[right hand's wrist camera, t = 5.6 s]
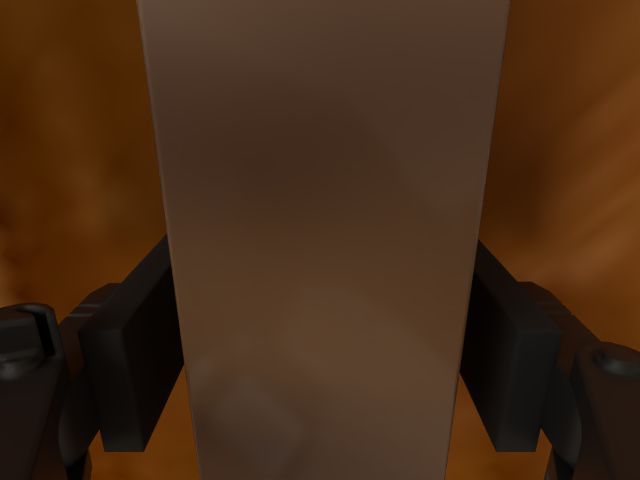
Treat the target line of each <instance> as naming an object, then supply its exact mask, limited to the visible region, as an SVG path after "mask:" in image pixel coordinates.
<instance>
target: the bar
mask: <svg viewBox="0 0 640 480" xmlns="http://www.w3.org/2000/svg"><path fill="white" fill-rule="evenodd" d="M136 4H137V11H138V19H139V26H140V34H141V41H142V49H143V56H144V64H145V71H146V79H147V86H148V94H149V101H150V109H151V116H152V124H153V131H154V139H155V146H156V154H157V161H158V169H159V176H160V184H161V191H162V199H163V206H164V214H165V221H166V229H167V236H168V244H169V251H170V259H171V266H172V274H173V281H174V289H175V296H176V304H177V311H178V319H179V326H180V334H181V341H182V349H183V356H184V364H185V371H186V379H187V386H188V394H189V401H190V409H191V416H192V424H193V431H194V439H195V446H196V454H197V461H198V469H199V476H200V480H445V473H446V466H447V459H448V452H449V444H450V437H451V430H452V423H453V416H454V408H455V401H456V394H457V387H458V379H459V372H460V365H461V358H462V351H463V343H464V336H465V329H466V322H467V315H468V307H469V300H470V293H471V286H472V278H473V271H474V264H475V257H476V250H477V242H478V235H479V228H480V221H481V213H482V206H483V199H484V192H485V185H486V177H487V170H488V163H489V156H490V148H491V141H492V134H493V127H494V120H495V112H496V105H497V98H498V91H499V83H500V76H501V69H502V62H503V55H504V47H505V40H506V33H507V26H508V19H509V11H510V4H511V0H136Z"/></svg>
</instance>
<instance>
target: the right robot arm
mask: <svg viewBox="0 0 640 480" xmlns="http://www.w3.org/2000/svg"><path fill="white" fill-rule="evenodd" d="M183 365H184V356H183V349H182V341H181V334H180V326H179V319H178V311H177V304H176V296H175V289H174V281H173V274H172V266H171V259H170V251H169V244H168V236H167V234H166V235H165V236H164V237H163V238H162V240H161V241H160V242H159V243H158V244H157V245H156V246H155V247H154V248H153V249H152V250H151V251H150V253H149V254H148V255H147V256H146V257H145V258H144V259H143V260H142V261H141V262H140V263H139V264H138V266H137V267H136V268H135V269H134V270H133V271H132V272H131V273H130V274H129V275H128V276H127V277H126V279H125V280H124V281H123V282H122V283H109V284H107V285H105V286H103V287H101V288H99V289H97V290H96V291H94V292H92V293H90V294H89V295H88V296H87V297H86V298H85V299H84V300H83V301H82V302H81V303H80V304H79V307H76V308H75V309H74V310H73V311H72V312H71V313H70V314H69V317H66V318H65V319H64V320H63V321H62V322H61V323H60V324H59V325H58V324H57V320H56V316H55V312H54V309H53V308H52V307H50V306H49V305H47V304H40V303H23V304H16V305H11V306H7V307H2V308H0V480H90V478H91V470H92V463H91V457H90V453H89V449H88V447H89V445H90V444H91V442H92V440H93V439H94V437H95V435H96V434H97V432H98V431H99V429H100V433H101V438H102V442H103V446H104V451H105V452H144V450H145V448H146V446H147V444H148V442H149V439H150V437H151V435H152V433H153V431H154V428H155V426H156V424H157V422H158V420H159V418H160V415H161V413H162V411H163V409H164V407H165V404H166V402H167V400H168V398H169V396H170V394H171V391H172V389H173V387H174V385H175V383H176V380H177V378H178V376H179V374H180V372H181V370H182V367H183ZM460 374H461V376H462V378H463V381H464V383H465V385H466V387H467V389H468V391H469V394H470V396H471V398H472V400H473V402H474V404H475V407H476V409H477V411H478V413H479V415H480V418H481V420H482V422H483V424H484V426H485V428H486V431H487V433H488V435H489V437H490V439H491V442H492V444H493V446H494V448H495V450H496V452H535V451H536V446H537V442H538V438H539V433H540V429H541V428H542V430H543V431H544V433H545V435H546V436H547V438H548V440H549V441H550V443H551V445H552V449H551V453H550V457H549V461H548V465H547V469H546V473H545V477H544V480H640V352H638V351H636V350H633V349H631V348H629V347H626V346H622V345H618V344H615V343H611V342H601V341H600V340H599V339H598V338H597V337H596V336H595V335H594V334H593V333H592V332H591V331H590V330H589V329H588V328H586V327H585V326H584V325H583V324H582V323H581V322H580V321H579V320H578V319H577V318H576V317H575V316H574V315H571V312H570V311H569V310H568V309H567V308H566V307H565V306H564V305H561V302H560V301H559V300H558V299H557V298H556V297H555V296H554V295H553V294H552V293H551V292H549V291H548V290H546V289H544V288H542V287H540V286H538V285H536V284H534V283H533V282H517V281H516V280H515V279H514V277H513V276H512V275H511V274H510V273H509V272H508V271H507V270H506V269H505V268H504V267H503V266H502V264H501V263H500V262H499V261H498V260H497V259H496V258H495V257H494V256H493V255H492V254H491V253H490V251H489V250H488V249H487V248H486V247H485V246H484V245H483V244H482V243H481V242H480V241H479V240H478V242H477V250H476V257H475V264H474V271H473V278H472V286H471V293H470V300H469V307H468V315H467V322H466V329H465V336H464V343H463V351H462V358H461V365H460Z"/></svg>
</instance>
